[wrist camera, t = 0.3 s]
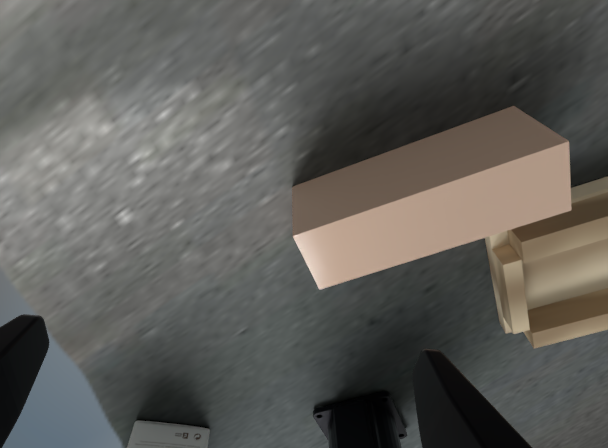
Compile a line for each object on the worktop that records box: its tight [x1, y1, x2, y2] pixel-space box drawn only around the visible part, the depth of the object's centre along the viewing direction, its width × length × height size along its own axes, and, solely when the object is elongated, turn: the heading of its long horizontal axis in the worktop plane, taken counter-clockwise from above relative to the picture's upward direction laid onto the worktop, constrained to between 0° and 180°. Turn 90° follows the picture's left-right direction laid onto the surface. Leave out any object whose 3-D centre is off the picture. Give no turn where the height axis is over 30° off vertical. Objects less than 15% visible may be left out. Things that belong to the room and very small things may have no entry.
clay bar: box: [292, 106, 572, 289], centre depth 20 cm, size 4×12×5 cm, turn 111°
